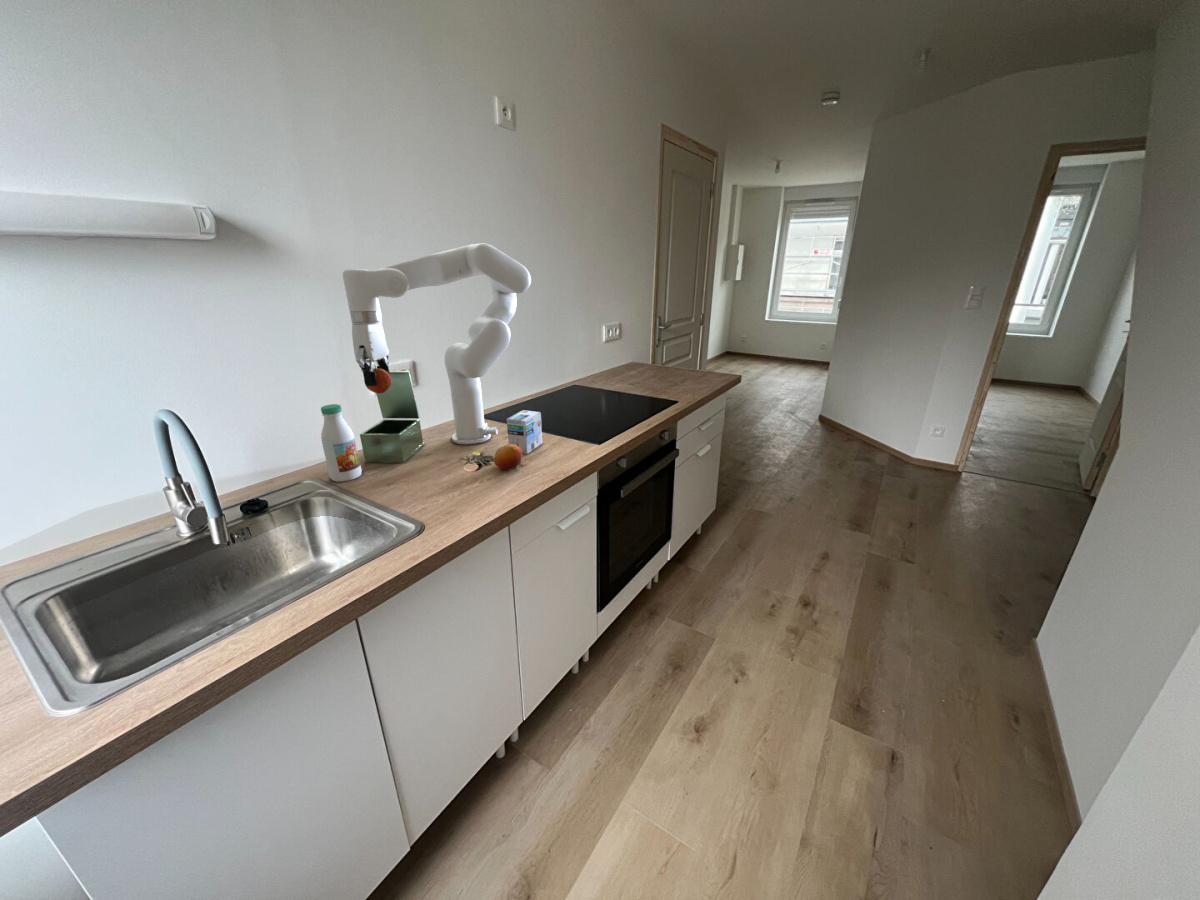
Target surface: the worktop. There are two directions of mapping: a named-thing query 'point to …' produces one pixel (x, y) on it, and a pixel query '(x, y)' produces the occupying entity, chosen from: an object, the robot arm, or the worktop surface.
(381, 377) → the fruit
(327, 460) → the milk bottle
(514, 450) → the fruit
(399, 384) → the lid
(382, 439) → the bread bin
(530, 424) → the light bulb box
